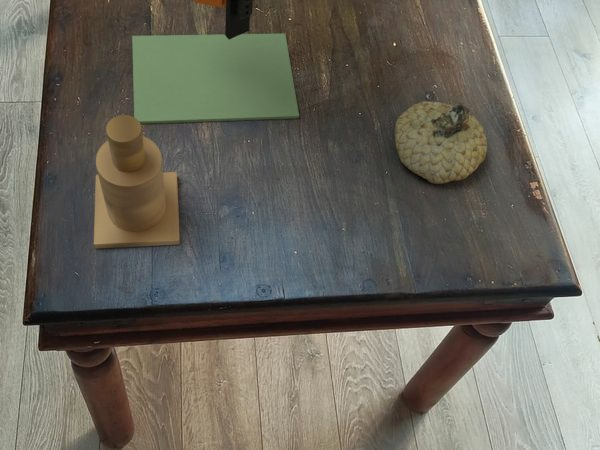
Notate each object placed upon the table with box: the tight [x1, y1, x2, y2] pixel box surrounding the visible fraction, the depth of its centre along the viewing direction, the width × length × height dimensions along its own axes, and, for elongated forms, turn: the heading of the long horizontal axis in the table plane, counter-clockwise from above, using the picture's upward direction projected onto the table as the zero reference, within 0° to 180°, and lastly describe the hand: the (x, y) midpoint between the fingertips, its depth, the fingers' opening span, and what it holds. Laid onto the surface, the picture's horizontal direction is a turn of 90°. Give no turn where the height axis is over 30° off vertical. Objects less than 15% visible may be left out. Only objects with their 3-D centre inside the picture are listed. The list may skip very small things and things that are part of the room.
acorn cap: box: [394, 100, 488, 185], centre depth 86 cm, size 10×11×10 cm
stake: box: [93, 114, 181, 249], centre depth 72 cm, size 9×9×15 cm
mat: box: [131, 33, 300, 125], centre depth 89 cm, size 20×14×1 cm
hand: (215, 8), depth 80 cm, fingers closed on ring, 8 cm apart
